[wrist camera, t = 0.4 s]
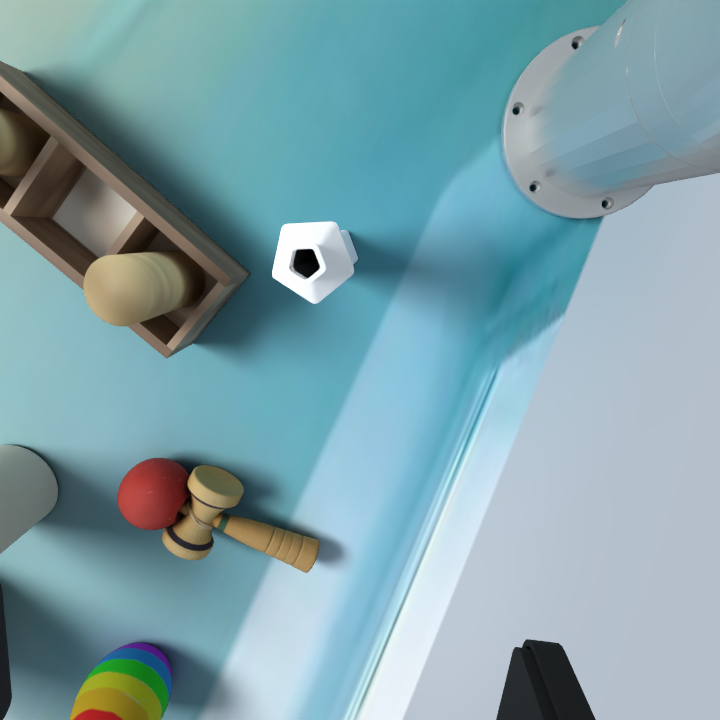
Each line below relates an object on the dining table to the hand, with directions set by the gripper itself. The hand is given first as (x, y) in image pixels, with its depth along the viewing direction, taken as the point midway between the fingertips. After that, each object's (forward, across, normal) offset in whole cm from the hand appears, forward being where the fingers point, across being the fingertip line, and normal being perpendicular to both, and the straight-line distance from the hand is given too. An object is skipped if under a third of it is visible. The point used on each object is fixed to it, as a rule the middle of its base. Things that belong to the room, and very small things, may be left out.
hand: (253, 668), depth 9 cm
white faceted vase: (+32, +2, -6) cm, 33 cm away
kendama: (+32, +9, +18) cm, 38 cm away
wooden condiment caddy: (+32, +20, -7) cm, 38 cm away
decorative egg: (+32, +18, +38) cm, 53 cm away
